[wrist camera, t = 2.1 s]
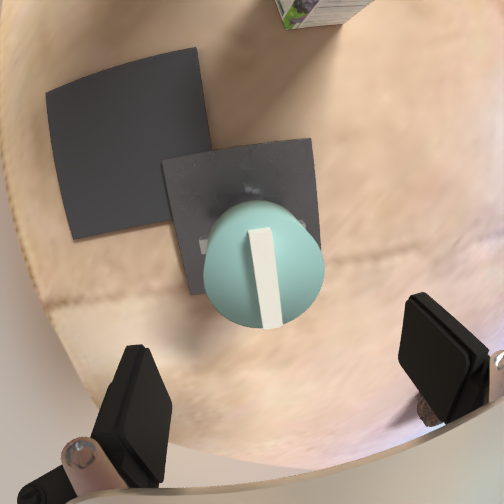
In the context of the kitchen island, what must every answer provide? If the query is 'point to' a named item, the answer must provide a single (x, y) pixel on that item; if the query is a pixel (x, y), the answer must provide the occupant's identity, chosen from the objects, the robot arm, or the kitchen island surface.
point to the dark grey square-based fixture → (237, 192)
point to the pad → (125, 139)
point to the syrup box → (318, 12)
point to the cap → (261, 265)
